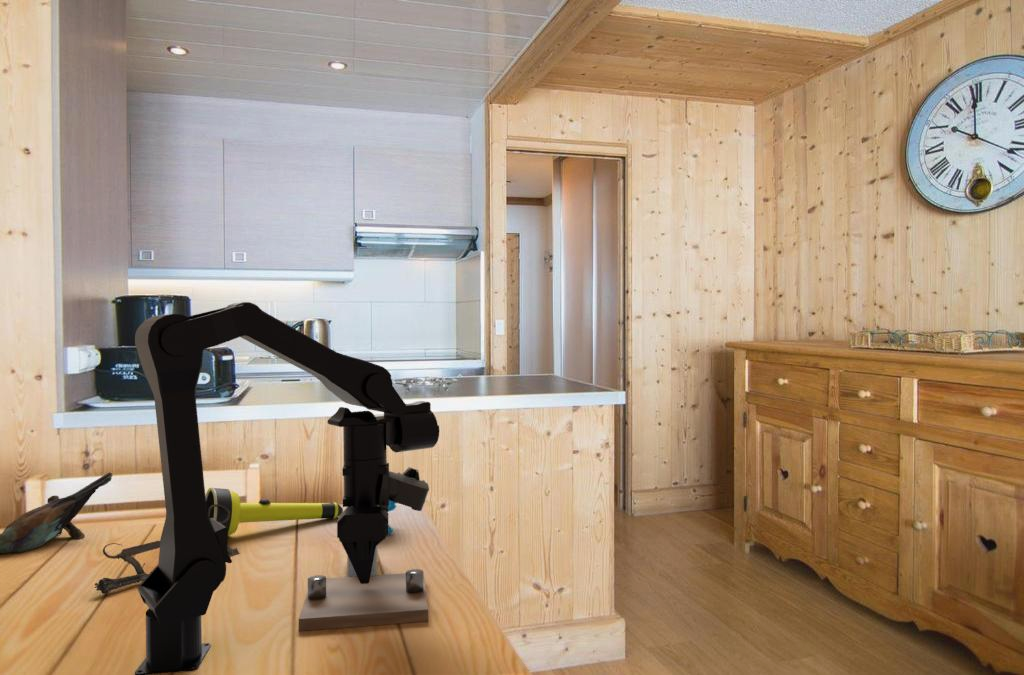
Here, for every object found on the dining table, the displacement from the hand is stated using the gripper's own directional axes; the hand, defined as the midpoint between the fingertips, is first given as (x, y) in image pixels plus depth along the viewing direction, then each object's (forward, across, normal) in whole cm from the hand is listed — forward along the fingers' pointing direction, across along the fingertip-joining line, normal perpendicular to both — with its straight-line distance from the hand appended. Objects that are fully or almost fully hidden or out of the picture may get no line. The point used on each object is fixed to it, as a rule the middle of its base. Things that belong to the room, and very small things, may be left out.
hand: (366, 571), depth 95 cm
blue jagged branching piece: (+6, +34, +1) cm, 35 cm away
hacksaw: (+5, +18, +29) cm, 35 cm away
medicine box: (+5, +14, +1) cm, 15 cm away
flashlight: (+6, +38, +18) cm, 42 cm away
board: (+5, 0, 0) cm, 5 cm away
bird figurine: (0, +46, +50) cm, 68 cm away
